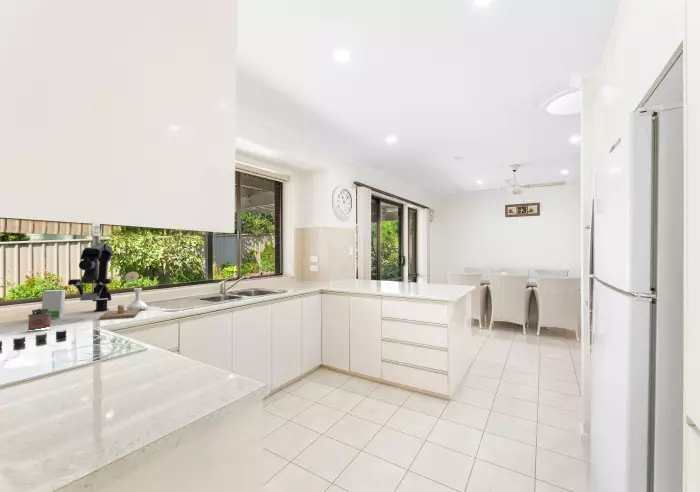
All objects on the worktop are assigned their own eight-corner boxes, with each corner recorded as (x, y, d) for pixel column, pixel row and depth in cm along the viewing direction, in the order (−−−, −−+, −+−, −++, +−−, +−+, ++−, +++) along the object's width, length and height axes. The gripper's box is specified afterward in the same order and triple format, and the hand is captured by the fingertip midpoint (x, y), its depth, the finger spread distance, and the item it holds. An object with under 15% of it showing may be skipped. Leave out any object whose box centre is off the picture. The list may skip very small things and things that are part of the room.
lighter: (26, 331, 146) (26, 309, 146) (29, 330, 149) (30, 308, 149) (48, 330, 149) (49, 308, 149) (52, 328, 152) (52, 307, 152)
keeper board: (107, 313, 191) (108, 303, 191) (139, 311, 198) (139, 302, 199) (99, 319, 173) (99, 308, 174) (134, 317, 181) (134, 306, 181)
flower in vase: (147, 307, 213) (148, 270, 214) (147, 310, 204) (148, 271, 205) (123, 309, 206) (125, 271, 207) (122, 312, 197) (124, 272, 198)
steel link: (84, 299, 183) (84, 293, 183) (99, 298, 186) (99, 293, 186) (80, 300, 176) (80, 295, 176) (96, 299, 179) (96, 294, 180)
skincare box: (40, 319, 172) (41, 291, 172) (45, 317, 178) (46, 289, 178) (60, 318, 176) (61, 290, 176) (64, 316, 182) (65, 289, 182)
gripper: (65, 270, 170) (63, 299, 170) (107, 269, 179) (106, 297, 178) (72, 269, 180) (71, 296, 180) (112, 269, 189) (111, 295, 188)
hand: (90, 296), depth 181 cm, fingers closed on steel link, 7 cm apart
